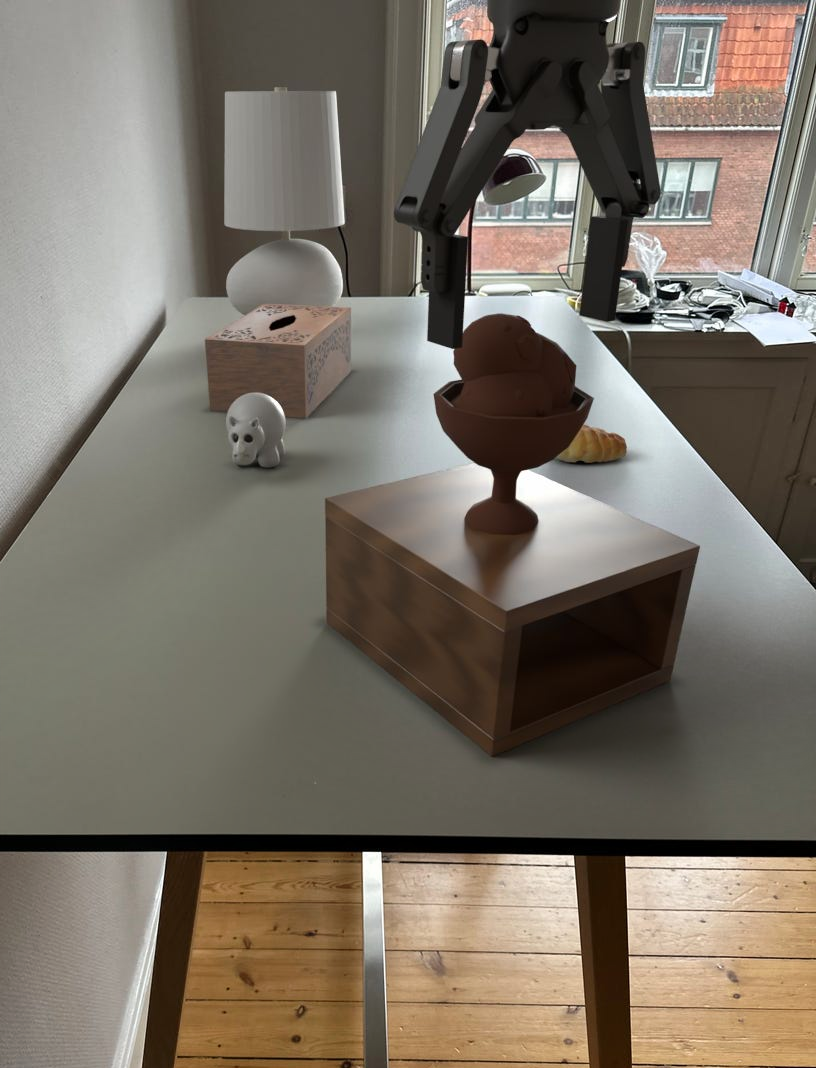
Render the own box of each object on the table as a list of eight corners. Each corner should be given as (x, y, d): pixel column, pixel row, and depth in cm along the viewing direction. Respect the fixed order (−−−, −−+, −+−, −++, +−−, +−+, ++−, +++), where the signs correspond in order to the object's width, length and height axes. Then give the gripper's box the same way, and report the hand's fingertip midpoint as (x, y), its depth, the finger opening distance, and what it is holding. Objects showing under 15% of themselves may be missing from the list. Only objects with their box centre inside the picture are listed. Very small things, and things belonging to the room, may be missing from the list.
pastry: (615, 446, 118) (620, 417, 116) (633, 465, 112) (638, 434, 110) (543, 447, 118) (547, 418, 116) (557, 466, 112) (561, 436, 110)
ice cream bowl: (526, 565, 63) (551, 340, 55) (399, 521, 69) (406, 314, 61) (602, 518, 69) (634, 312, 62) (480, 482, 76) (495, 292, 68)
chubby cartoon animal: (209, 484, 107) (203, 413, 103) (237, 450, 117) (233, 383, 113) (269, 488, 106) (266, 416, 102) (292, 453, 116) (290, 386, 112)
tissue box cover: (267, 366, 153) (264, 303, 148) (350, 371, 150) (351, 307, 145) (210, 410, 132) (204, 339, 127) (306, 418, 129) (304, 345, 124)
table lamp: (254, 352, 162) (241, 87, 141) (207, 328, 178) (189, 88, 157) (366, 336, 171) (369, 86, 151) (312, 316, 187) (308, 87, 167)
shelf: (671, 680, 71) (700, 545, 65) (491, 757, 63) (507, 611, 57) (487, 572, 87) (498, 456, 81) (326, 622, 79) (324, 497, 73)
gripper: (660, -42, 60) (614, 300, 70) (333, -66, 48) (338, 345, 59) (760, -57, 54) (693, 317, 65) (417, -88, 43) (406, 369, 54)
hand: (524, 331), depth 62 cm, fingers open, 13 cm apart
